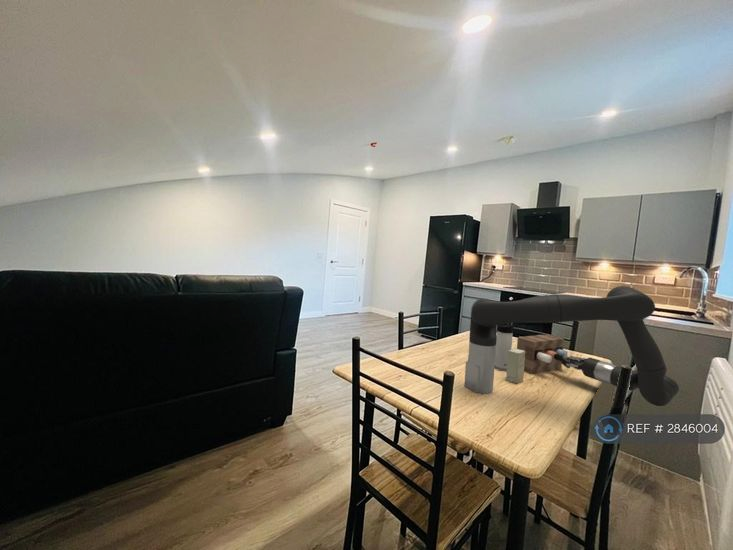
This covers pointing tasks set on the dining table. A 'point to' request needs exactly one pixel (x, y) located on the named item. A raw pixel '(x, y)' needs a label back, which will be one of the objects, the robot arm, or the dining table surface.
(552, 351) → the red key
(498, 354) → the travel mug
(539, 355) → the white key
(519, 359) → the skincare box
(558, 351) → the blue key
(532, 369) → the box
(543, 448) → the dining table surface
